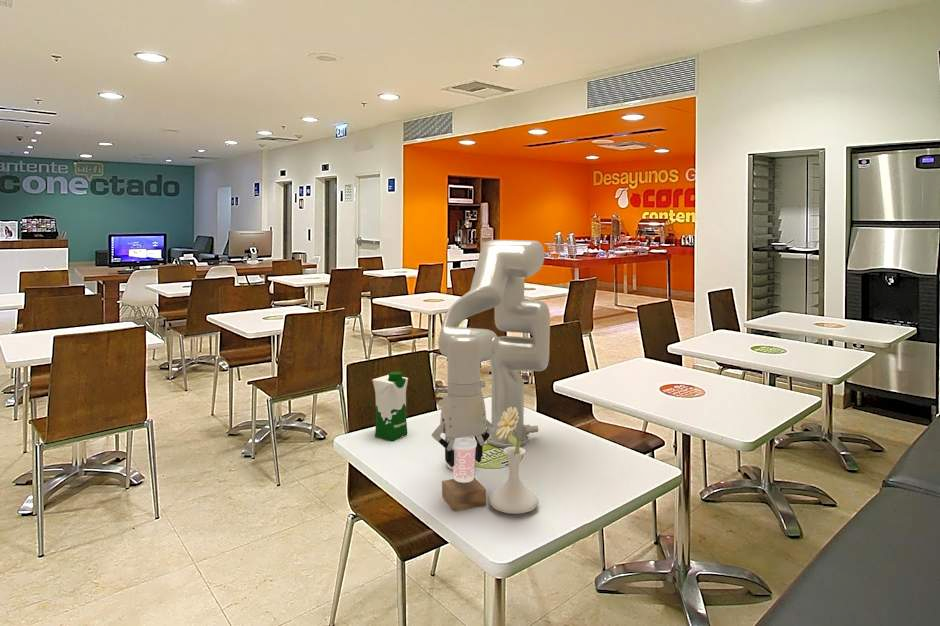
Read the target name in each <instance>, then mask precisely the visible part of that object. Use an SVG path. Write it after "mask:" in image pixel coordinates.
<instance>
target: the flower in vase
mask: <svg viewBox="0 0 940 626" xmlns="http://www.w3.org/2000/svg"><path fill="white" fill-rule="evenodd" d="M502 415H503V416H501V420H500V422H498V423H497V426H498V429H497V431H496V432H497V433H496V435H499V437H498V439H501V440H502V439H503V438H504V440H505V439H506V438H508V441H509V442H510V443H511V444H512V445H514V446H515V447H507V448H504V449H503V451H502V452H503V453H504V454H505V456H506V458H507V461H508V479H507V481H506V482H505V483H504V484H501V485H500V486H499V487H497V488H496V489H494V491H492V492H491V494H490V496H489V498H488V502H489V504H490V505H491V507H492V508H493V509H495V510H497V511H499V512H501V513H504V514H509V515H510V514H511V515H512V514H513V515H514V514H515V515H519V514H525V513H528V512H532V511H533V510H535V509H536V508H537V506H538V504H539V498H538V495H536V493H535V492H534V491H533V490H532V489H530V487H528V486H526V485H525V484H524V483H523V482H521V479H520V472H519V471H520V463H521V460H522V457H523V456H524V455H525V453H526V449H524V448H523V447H521V446H520V442H518V436H517V433H516V431H515V429H516V425H517V423H518V419H519V416H518V412H517V409H516V407H514V408H513V410H512V407H510V408H508V409H507V412H505V411H504V412H503V413H502ZM517 416H518V417H517ZM513 430H514V432H515V435H516V438H517V439H516V438H515V437H514V436H513V435H512V433H513Z"/></svg>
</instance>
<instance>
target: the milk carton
mask: <svg viewBox="0 0 940 626" xmlns="http://www.w3.org/2000/svg"><path fill="white" fill-rule="evenodd" d="M408 381H409V377H405V376H403V372H402V371H397V370H395V371H389V372H388V374H387V375H383V376H380V377H377V378H373V379H372V385H373V387H374V393H375V431H374V437H375V438H380V439H383V440H386V441H389V440H390V441H389V442H394V441H397V440H399V439H400V437H401V438H403V437H405V435H406V436H408V435H407V434H409V433H408V423H407V387H408ZM402 436H403V437H402ZM398 438H399V439H398Z"/></svg>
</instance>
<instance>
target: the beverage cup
mask: <svg viewBox="0 0 940 626" xmlns="http://www.w3.org/2000/svg"><path fill="white" fill-rule="evenodd" d="M476 446H477V441H476V440H475V438H473V439H472V438H465V437H463V438H456V439H455V442H454V444H453V447H452V449H453V450H454V466H453V469H454V470H453V479H455V480H456V481H457V482H463V483H465V482H470V481H472V480H473V479H474V477H475V464H476V460H475V451H476Z"/></svg>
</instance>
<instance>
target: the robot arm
mask: <svg viewBox="0 0 940 626" xmlns="http://www.w3.org/2000/svg"><path fill="white" fill-rule="evenodd" d="M544 261H545V250H544V246H543V245H542V243H541V242H540V241H538V240H527V239H526V240H524V239H521V240H519V239H492V240H488V241H486V242H484V243H483V245H482V248H481V250H480V252H479V255H478V259H477V264H476V266H475V271H474V274H473V278H472V282H471V286H470V290H469V291H467V292H465V294H463V295H462V296H460V297H459V298H458V299H457V300H456V301H455V302H454V303H453V304H452V305H451V306H450V307H448V309H447V310H446V311H447V312H446V313H445V314H444V318H443V321H442V324H441V327H440V331H439V334H438V335H439V336H438V342H437V344H438V350H439V352H440V353H441V355H442V356H444V357H445V358H447V360H446V361H447V362H446V363H447V392H445V393H444V394H443V397H442V403H441V411H440V423H439V425H438V426H437V427H436V429H434V431H433V432H432V433H431V437H432V439H434V440H435V441H437V442H438V443H439V444H440V445H441V446H442V447H443V448H444V461H445V463H446V462H447V463H448V464H449V465H450V466H451V467H453V466H454V450H453V449H452V447H453V444H454V442H455V439H456V438H463V437H470V436H474V437H473V439H475V440H476V441H477V446H476V451H475V462H477V463H481V462H482V458H483V447H484V446H485V442H486V443H488V444H489V445H491V446H494V447H498V448H504V449H505V448H507V447H515V446H514V445H512V444H511V443H510V442H509V441H508V438H506V439H505V440H504V438H503V439H502V440H501V439H498V437H499V435H496V433H497V432H496V431H497V429H498V426H497V423H498V422H500V420H501V416H503V415H502V413H503V412H504V411H505V412H507V409H508V408H510V407H512V410H513V408H514V407H516V409H517V412H518V416H519V419H518V423H517V425H516V429H515V431H516V433H517V436H518V442H520V447H523V446H525V445H527V444H528V443H529V436H528V435H530V434H531V433H532V434H533V433H538V432H539V427H538V425H531V424H524V422H525V421H524V420H525V419H524V417H525V416H524V413H525V412H524V411H525V383H524V380H523V378H522V376H521V374H520V373H519V372H518V371H530V372H542V371H543V372H544V370H546V369H547V367H548V366H549V361H550V340H551V339H550V336H551V313H550V308H549V306H548V304H547V303H546V302H544V301H542V300H535V299H533V300H531V299H526V298H525V280H524V279H523V278H531V277H532V276H534V275H535V274H536V273H538V272H539V271H541V269H542V268H543V265H544ZM493 308H494V325H495V328H497V329H498V330H499V331H502V332H507V333H508V332H509V333H517V334H518V333H519V334H530V335H531V336H532V337H524V336H513V335H512V336H509V335H500V336H498V335H497V334H496V333H495V332H494V331H493V330H491V329H486V328H475V327H463V326H462V327H461V326H460V325H461V324H462V323H463V322H464V321H465V320H467V318H470V317H472V316H474V315H477V314H479V313H483V312H485V311H488V310H491V309H493ZM459 326H460V327H459ZM486 361H489V363H490V370H491V371H490V372H491V373H490V374H491V422H490V421H489V420H488V419H487V411H486V403H485V399H484V398H485V397H484V394H483V391H482V388H484V387H486V381H485V380H483V381H482V380H481V363H483V362H486ZM518 416H517V417H518ZM444 433H445V434H446V438H445V437H444V438H443V437H442V436H441V435H442V434H444ZM512 435H513V436H514V437H515V438H516V435H515V432H514V430H513V433H512ZM516 439H517V438H516Z"/></svg>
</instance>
